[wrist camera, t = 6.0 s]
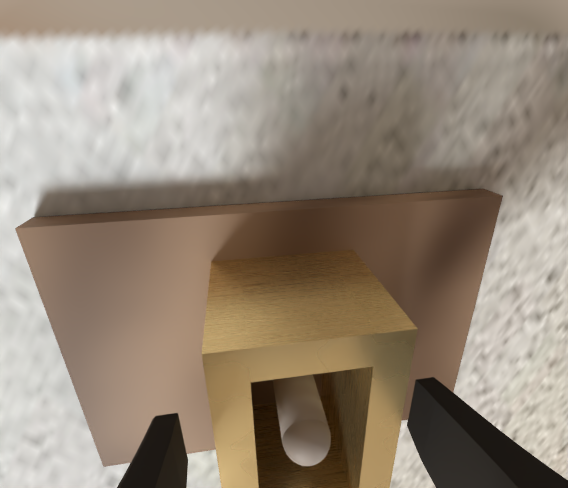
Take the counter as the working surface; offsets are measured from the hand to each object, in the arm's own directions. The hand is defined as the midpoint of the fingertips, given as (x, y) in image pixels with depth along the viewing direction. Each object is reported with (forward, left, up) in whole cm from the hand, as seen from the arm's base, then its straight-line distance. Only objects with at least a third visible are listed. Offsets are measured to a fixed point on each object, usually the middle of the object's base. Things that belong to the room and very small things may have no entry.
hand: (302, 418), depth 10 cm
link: (0, 0, -3) cm, 3 cm away
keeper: (0, 0, -4) cm, 4 cm away
